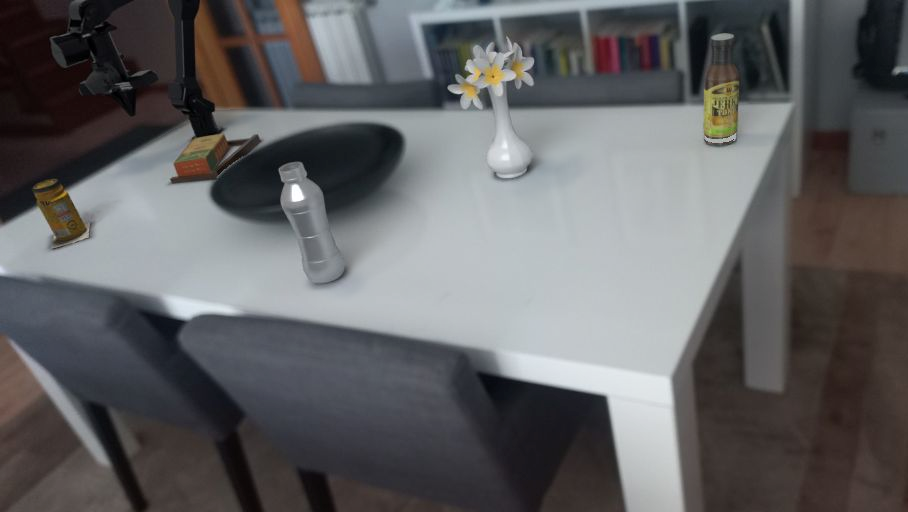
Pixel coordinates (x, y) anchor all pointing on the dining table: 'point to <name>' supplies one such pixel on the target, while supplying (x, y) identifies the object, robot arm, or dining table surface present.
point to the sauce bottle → (721, 91)
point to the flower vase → (498, 104)
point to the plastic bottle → (310, 224)
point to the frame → (241, 151)
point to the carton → (201, 155)
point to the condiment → (60, 213)
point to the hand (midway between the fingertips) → (133, 115)
